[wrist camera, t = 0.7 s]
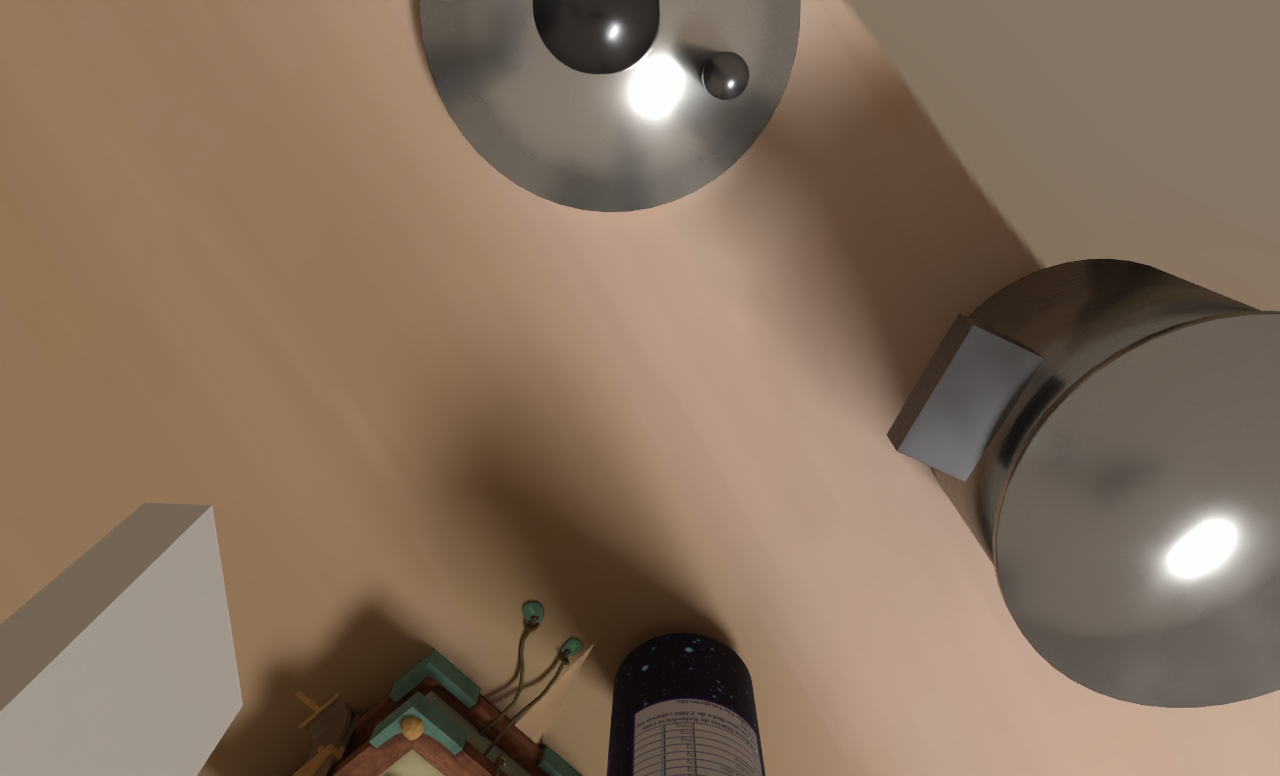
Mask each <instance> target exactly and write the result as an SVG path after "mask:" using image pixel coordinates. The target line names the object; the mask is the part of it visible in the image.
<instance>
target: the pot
mask: <svg viewBox="0 0 1280 776" xmlns="http://www.w3.org/2000/svg"><path fill="white" fill-rule="evenodd" d="M887 436H888V438H889V439H890V441H891V442H892V444H893V446H894V447H895V449H896V451H898V452H900V453H902V454H904V455H907V456H909V457H911V458H913V459H916V460H918V461H920V462H922V463H925V464H927V465H929V466H931V467H932V470H933V472H934V474H935V476H936V478H937V480H938V482H939V483H940V485H941V487H942V489H943V490H944V492H945V493H946V495H947V496H948V498H949V499H950V501H951V502H952V503H953V505H954V506H955V508H956V509H957V511H958V512H959V514H960V515H961V517H962V518H963V520H964V521H965V523H966V524H967V526H968V527H969V529H970V530H971V532H972V533H973V535H974V536H975V538H976V539H977V541H978V542H979V544H980V545H981V547H982V548H983V550H984V551H985V553H986V554H987V556H988V557H989V559H990V560H991V562H992V563H993V565H994V567H995V572H996V577H997V582H998V586H999V588H1000V591H1001V594H1002V596H1003V599H1004V602H1005V605H1006V607H1007V608H1008V610H1009V612H1010V614H1011V616H1012V617H1013V619H1014V621H1015V623H1016V625H1017V626H1018V628H1019V629H1020V631H1021V632H1022V634H1023V635H1024V636H1025V638H1026V639H1027V640H1028V641H1029V643H1030V644H1031V645H1032V647H1033V648H1034V649H1035V650H1036V652H1038V653H1039V654H1040V655H1041V656H1042V657H1043V658H1044V659H1045V660H1046V661H1047V662H1048V663H1049V664H1050V665H1052V666H1053V667H1054V668H1055V669H1057V670H1058V671H1060V672H1061V673H1063V674H1064V675H1065V676H1067V677H1068V678H1070V679H1071V680H1073V681H1075V682H1077V683H1079V684H1081V685H1083V686H1085V687H1087V688H1089V689H1091V690H1093V691H1095V692H1098V693H1100V694H1103V695H1106V696H1109V697H1112V698H1115V699H1118V700H1122V701H1127V702H1131V703H1136V704H1140V705H1147V706H1157V707H1167V708H1196V707H1205V706H1214V705H1223V704H1228V703H1233V702H1238V701H1243V700H1247V699H1252V698H1255V697H1258V696H1261V695H1264V694H1268V693H1271V692H1274V691H1277V690H1280V311H1261V310H1259V309H1256V308H1254V307H1251V306H1249V305H1246V304H1243V303H1241V302H1239V301H1236V300H1233V299H1231V298H1228V297H1226V296H1223V295H1221V294H1218V293H1216V292H1214V291H1211V290H1209V289H1206V288H1204V287H1201V286H1199V285H1196V284H1194V283H1191V282H1189V281H1186V280H1184V279H1181V278H1179V277H1176V276H1174V275H1171V274H1169V273H1166V272H1164V271H1161V270H1159V269H1156V268H1154V267H1151V266H1148V265H1144V264H1139V263H1135V262H1131V261H1123V260H1115V259H1087V260H1081V261H1074V262H1067V263H1063V264H1059V265H1056V266H1052V267H1049V268H1045V269H1042V270H1040V271H1037V272H1035V273H1033V274H1030V275H1028V276H1025V277H1023V278H1021V279H1019V280H1018V281H1016V282H1014V283H1012V284H1010V285H1009V286H1007V287H1005V288H1003V289H1002V290H1001V291H999V292H998V293H996V294H995V295H994V296H992V297H991V298H989V299H988V300H987V301H985V302H984V303H983V304H982V305H981V306H980V307H979V308H978V309H977V310H975V311H974V312H973V313H972V314H971V315H970V316H969V317H966V316H963V315H961V314H959V315H958V316H957V318H956V320H955V321H954V323H953V325H952V326H951V328H950V330H949V331H948V333H947V335H946V336H945V338H944V340H943V341H942V343H941V345H940V346H939V348H938V350H937V351H936V353H935V355H934V356H933V358H932V360H931V361H930V363H929V365H928V366H927V368H926V370H925V371H924V373H923V375H922V376H921V378H920V380H919V381H918V383H917V385H916V386H915V388H914V390H913V391H912V393H911V395H910V396H909V398H908V400H907V401H906V403H905V405H904V406H903V408H902V410H901V411H900V413H899V415H898V416H897V418H896V420H895V421H894V423H893V425H892V426H891V428H890V430H889V431H888V433H887Z"/></svg>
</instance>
